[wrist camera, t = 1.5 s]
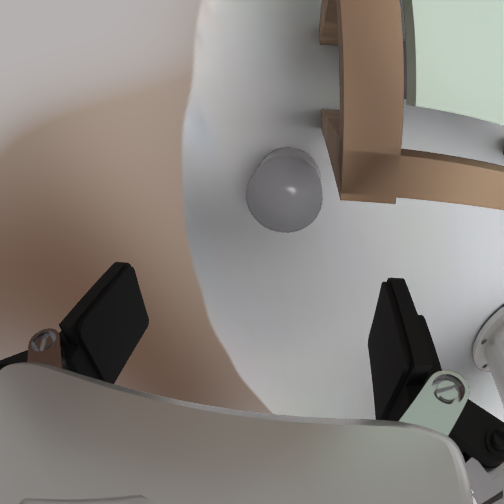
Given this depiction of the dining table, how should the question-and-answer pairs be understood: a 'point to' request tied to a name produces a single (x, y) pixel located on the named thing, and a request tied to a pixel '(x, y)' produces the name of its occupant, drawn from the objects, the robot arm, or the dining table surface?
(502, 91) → the pale green flat block
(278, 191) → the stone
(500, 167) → the frame
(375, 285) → the dining table surface
